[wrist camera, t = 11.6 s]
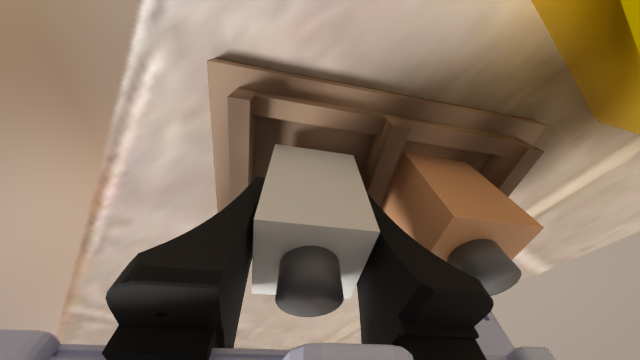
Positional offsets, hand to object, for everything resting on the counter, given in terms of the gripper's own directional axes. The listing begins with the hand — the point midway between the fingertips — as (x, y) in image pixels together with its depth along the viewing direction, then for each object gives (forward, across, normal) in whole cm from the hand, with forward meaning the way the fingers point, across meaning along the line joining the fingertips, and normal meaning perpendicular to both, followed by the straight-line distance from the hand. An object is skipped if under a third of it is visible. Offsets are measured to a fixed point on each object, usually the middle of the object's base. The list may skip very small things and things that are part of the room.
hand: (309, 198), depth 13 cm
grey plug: (+2, 0, 0) cm, 2 cm away
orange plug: (+3, -8, 0) cm, 9 cm away
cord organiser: (+4, -4, 0) cm, 6 cm away
